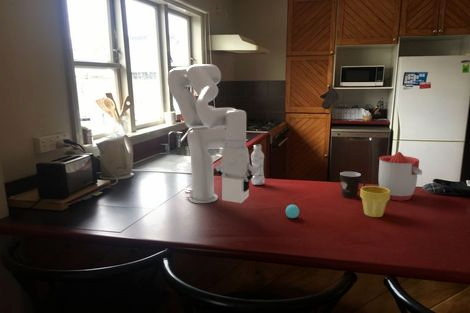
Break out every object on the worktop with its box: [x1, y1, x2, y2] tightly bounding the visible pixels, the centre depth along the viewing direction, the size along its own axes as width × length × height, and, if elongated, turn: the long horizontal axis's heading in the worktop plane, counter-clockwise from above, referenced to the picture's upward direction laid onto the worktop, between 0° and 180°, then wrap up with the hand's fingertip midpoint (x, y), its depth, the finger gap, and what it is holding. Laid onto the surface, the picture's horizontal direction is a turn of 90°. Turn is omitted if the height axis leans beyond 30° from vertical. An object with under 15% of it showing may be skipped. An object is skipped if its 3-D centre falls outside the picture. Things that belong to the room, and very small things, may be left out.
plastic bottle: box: [250, 144, 266, 186], centre depth 177 cm, size 6×7×20 cm
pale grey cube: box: [221, 174, 250, 204], centre depth 136 cm, size 8×8×9 cm
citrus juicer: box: [378, 151, 423, 202], centre depth 153 cm, size 16×17×20 cm
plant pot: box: [359, 185, 390, 218], centre depth 135 cm, size 10×10×10 cm
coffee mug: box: [339, 171, 366, 199], centre depth 156 cm, size 12×9×10 cm
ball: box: [285, 204, 300, 219], centre depth 133 cm, size 5×5×5 cm
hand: (235, 189), depth 136 cm, fingers closed on pale grey cube, 7 cm apart
